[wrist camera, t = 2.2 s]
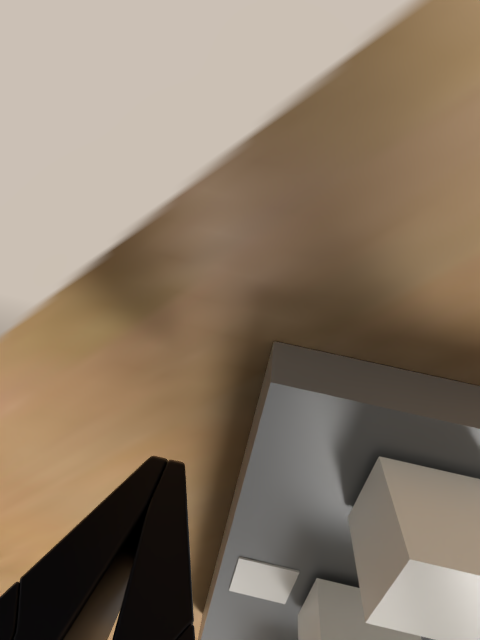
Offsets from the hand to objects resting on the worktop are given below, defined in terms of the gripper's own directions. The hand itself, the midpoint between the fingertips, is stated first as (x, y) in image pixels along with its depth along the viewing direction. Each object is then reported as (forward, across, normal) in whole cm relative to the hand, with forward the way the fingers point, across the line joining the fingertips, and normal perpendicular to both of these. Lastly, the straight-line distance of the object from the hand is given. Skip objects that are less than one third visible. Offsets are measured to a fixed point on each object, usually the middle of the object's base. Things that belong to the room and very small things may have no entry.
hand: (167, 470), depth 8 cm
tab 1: (+1, -6, 0) cm, 7 cm away
